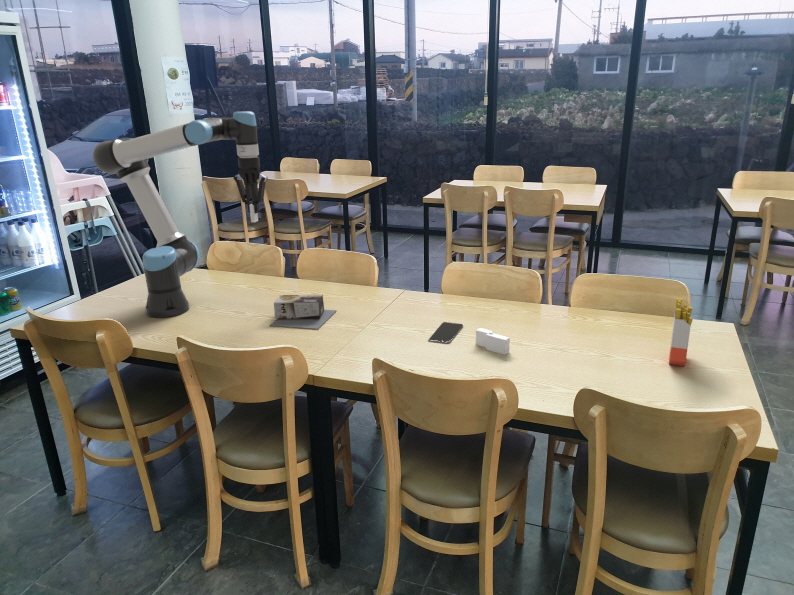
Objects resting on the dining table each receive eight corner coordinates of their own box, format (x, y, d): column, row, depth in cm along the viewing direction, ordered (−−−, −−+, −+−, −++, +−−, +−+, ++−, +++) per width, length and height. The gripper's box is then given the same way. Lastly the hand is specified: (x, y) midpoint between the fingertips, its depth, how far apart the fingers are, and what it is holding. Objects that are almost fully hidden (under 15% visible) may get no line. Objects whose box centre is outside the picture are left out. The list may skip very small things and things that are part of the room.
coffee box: (274, 319, 215) (320, 319, 214) (273, 302, 213) (318, 302, 212) (281, 311, 224) (324, 311, 223) (279, 294, 222) (323, 294, 221)
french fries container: (686, 355, 179) (694, 297, 173) (686, 370, 170) (694, 309, 164) (669, 352, 181) (676, 295, 175) (668, 367, 172) (675, 307, 166)
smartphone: (427, 339, 194) (443, 321, 208) (427, 343, 195) (443, 324, 209) (449, 342, 192) (463, 323, 206) (449, 345, 192) (463, 326, 206)
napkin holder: (518, 357, 183) (518, 339, 181) (481, 360, 181) (481, 343, 179) (501, 338, 197) (502, 321, 195) (467, 341, 195) (467, 324, 193)
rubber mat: (269, 326, 211) (269, 324, 211) (291, 308, 227) (291, 307, 227) (318, 329, 206) (318, 328, 206) (336, 311, 223) (336, 310, 223)
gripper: (226, 157, 216) (233, 222, 224) (259, 158, 213) (265, 224, 221) (237, 155, 223) (244, 218, 231) (269, 155, 220) (275, 220, 227)
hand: (254, 221), depth 226 cm, fingers closed
